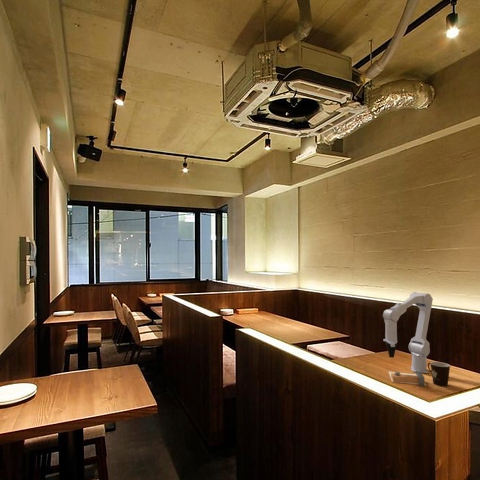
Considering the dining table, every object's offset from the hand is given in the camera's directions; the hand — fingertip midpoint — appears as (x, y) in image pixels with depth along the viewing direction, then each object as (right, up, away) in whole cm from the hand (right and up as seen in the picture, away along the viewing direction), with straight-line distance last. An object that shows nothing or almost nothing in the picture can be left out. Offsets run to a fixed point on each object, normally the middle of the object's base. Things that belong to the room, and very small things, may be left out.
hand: (391, 357), depth 185 cm
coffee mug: (+20, -10, -11) cm, 25 cm away
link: (+4, -9, -9) cm, 14 cm away
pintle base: (+6, -10, -5) cm, 12 cm away
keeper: (+10, -9, -11) cm, 17 cm away
